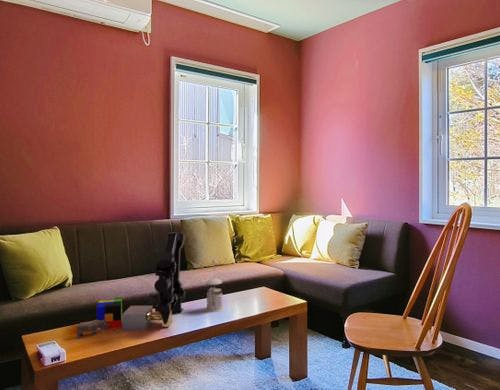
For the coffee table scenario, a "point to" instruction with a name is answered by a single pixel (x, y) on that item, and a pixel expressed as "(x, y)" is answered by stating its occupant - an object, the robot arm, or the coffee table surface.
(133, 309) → the housing
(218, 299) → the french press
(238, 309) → the coffee table surface
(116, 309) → the puzzle toy
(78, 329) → the rhino figurine
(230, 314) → the coffee table surface
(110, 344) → the coffee table surface
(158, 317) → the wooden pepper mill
